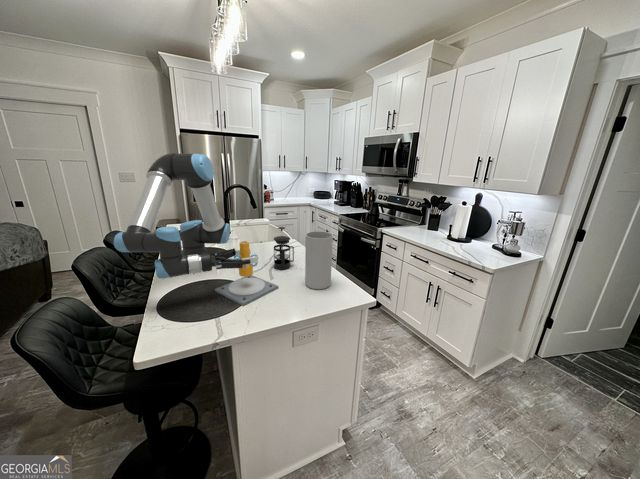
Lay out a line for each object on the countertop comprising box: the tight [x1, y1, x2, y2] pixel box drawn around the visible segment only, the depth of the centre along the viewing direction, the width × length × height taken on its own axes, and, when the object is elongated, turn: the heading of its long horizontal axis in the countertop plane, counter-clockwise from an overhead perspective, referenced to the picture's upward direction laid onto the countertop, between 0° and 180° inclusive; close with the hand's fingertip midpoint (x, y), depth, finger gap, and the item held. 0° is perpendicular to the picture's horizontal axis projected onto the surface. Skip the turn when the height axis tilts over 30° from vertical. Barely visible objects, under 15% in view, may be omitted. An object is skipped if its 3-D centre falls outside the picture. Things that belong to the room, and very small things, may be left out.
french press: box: [273, 226, 295, 271], centre depth 141 cm, size 12×9×23 cm
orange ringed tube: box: [233, 240, 259, 278], centre depth 113 cm, size 12×10×15 cm
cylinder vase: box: [304, 230, 334, 290], centre depth 121 cm, size 12×12×25 cm
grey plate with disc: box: [214, 274, 279, 307], centre depth 117 cm, size 20×20×2 cm
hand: (253, 255), depth 114 cm, fingers closed on orange ringed tube, 11 cm apart
